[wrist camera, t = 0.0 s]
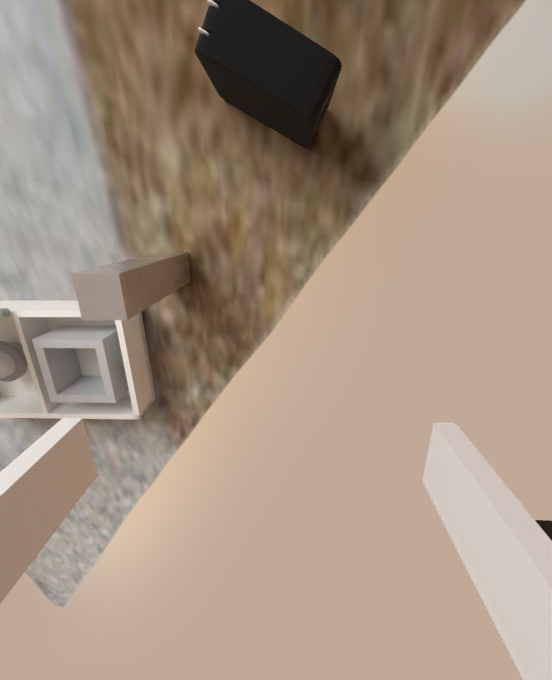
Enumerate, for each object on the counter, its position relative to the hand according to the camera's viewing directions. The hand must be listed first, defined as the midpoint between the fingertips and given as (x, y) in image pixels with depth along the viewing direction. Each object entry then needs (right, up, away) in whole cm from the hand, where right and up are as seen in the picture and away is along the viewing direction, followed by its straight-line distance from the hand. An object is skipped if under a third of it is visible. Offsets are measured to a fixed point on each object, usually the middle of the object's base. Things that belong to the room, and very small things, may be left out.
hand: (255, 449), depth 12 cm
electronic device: (+1, +28, +20) cm, 34 cm away
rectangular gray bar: (-11, +13, +26) cm, 31 cm away
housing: (-27, +3, +30) cm, 41 cm away
